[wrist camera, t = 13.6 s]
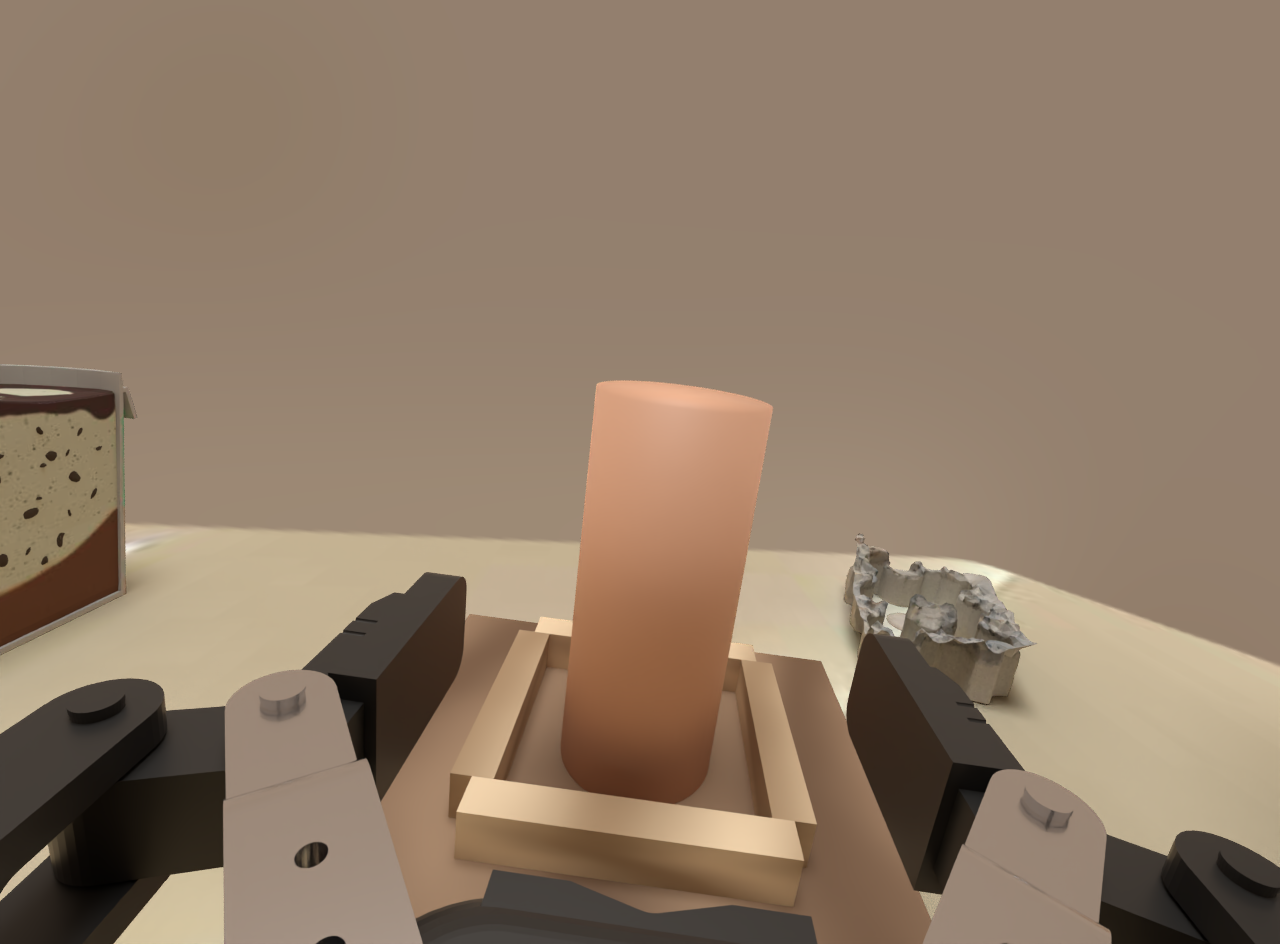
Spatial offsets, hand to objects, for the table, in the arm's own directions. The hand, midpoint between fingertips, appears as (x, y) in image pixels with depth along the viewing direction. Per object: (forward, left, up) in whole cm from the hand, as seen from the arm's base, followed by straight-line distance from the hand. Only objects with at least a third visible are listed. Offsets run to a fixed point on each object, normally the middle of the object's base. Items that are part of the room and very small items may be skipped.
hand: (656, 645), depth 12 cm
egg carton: (-15, -19, -9) cm, 26 cm away
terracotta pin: (0, -6, -8) cm, 10 cm away
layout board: (0, -6, -9) cm, 11 cm away
